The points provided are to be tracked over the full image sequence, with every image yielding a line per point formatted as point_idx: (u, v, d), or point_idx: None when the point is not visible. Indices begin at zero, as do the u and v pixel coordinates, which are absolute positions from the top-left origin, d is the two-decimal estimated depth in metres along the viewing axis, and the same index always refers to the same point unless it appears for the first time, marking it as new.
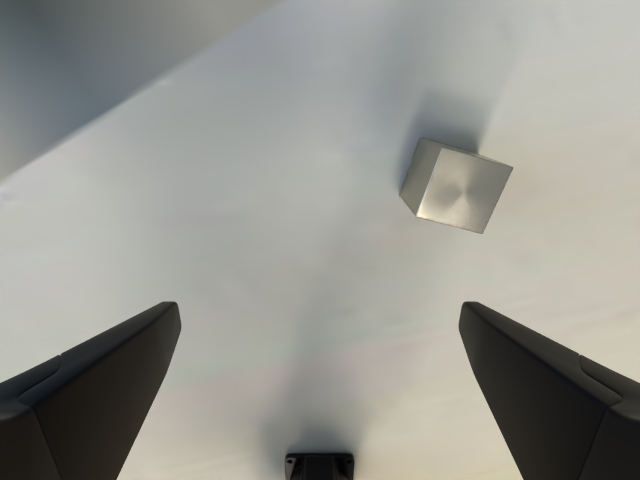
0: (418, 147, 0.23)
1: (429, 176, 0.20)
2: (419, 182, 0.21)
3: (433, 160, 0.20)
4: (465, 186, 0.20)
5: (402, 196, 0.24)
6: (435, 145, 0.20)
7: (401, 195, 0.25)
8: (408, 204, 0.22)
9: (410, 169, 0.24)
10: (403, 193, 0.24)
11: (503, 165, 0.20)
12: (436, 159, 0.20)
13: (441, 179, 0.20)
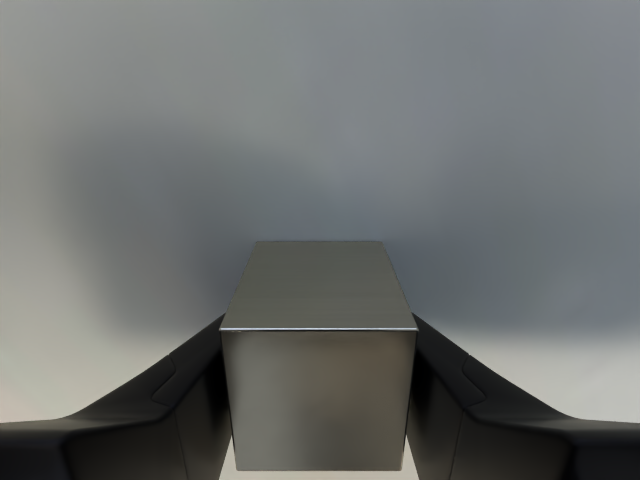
0: (364, 246, 0.11)
1: (333, 321, 0.07)
2: (304, 291, 0.09)
3: (374, 312, 0.08)
4: (334, 406, 0.08)
5: (257, 252, 0.11)
6: (403, 298, 0.08)
7: (258, 246, 0.11)
8: (244, 281, 0.09)
9: (317, 247, 0.11)
10: (264, 250, 0.11)
11: (401, 454, 0.09)
12: (383, 326, 0.07)
13: (337, 353, 0.07)
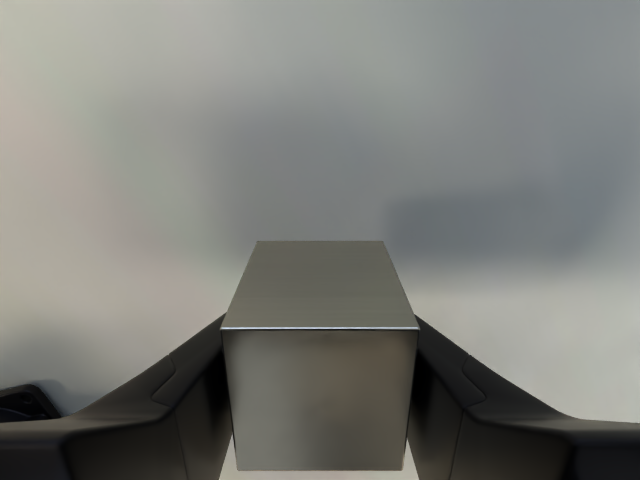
0: (365, 246, 0.11)
1: (335, 320, 0.07)
2: (305, 290, 0.09)
3: (375, 311, 0.08)
4: (336, 406, 0.08)
5: (257, 251, 0.11)
6: (404, 298, 0.08)
7: (259, 246, 0.11)
8: (245, 280, 0.09)
9: (318, 246, 0.11)
10: (264, 250, 0.11)
11: (403, 454, 0.09)
12: (385, 325, 0.07)
13: (338, 353, 0.07)
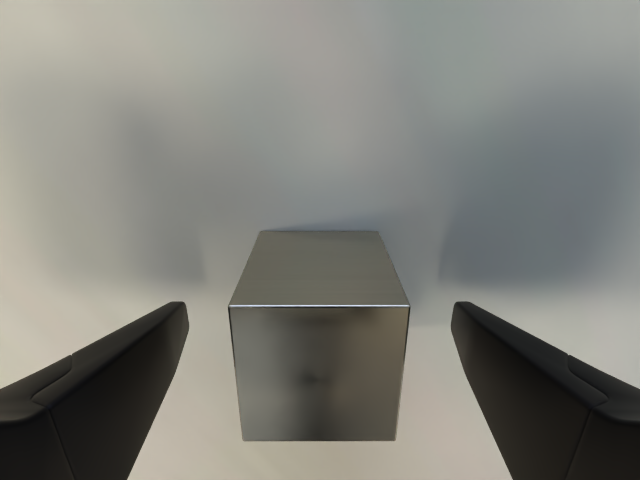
0: (361, 236, 0.12)
1: (332, 299, 0.08)
2: (305, 274, 0.09)
3: (370, 292, 0.08)
4: (334, 378, 0.09)
5: (261, 240, 0.11)
6: (397, 280, 0.09)
7: (262, 236, 0.12)
8: (250, 265, 0.10)
9: (317, 236, 0.12)
10: (267, 239, 0.12)
11: (395, 425, 0.09)
12: (378, 303, 0.08)
13: (335, 329, 0.08)
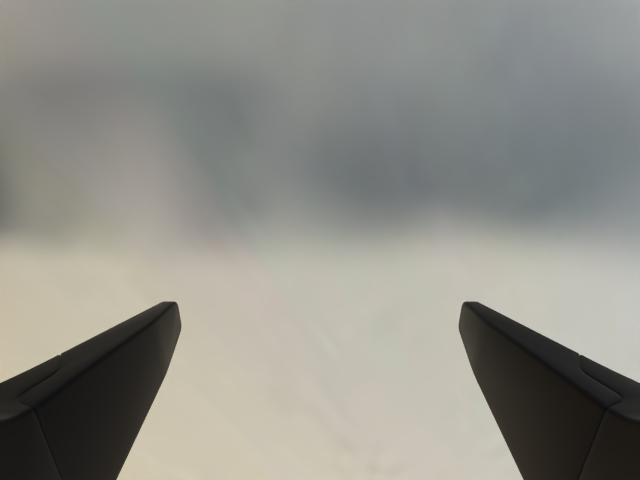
0: None
1: None
2: None
3: None
4: None
5: None
6: None
7: None
8: None
9: None
10: None
11: None
12: None
13: None
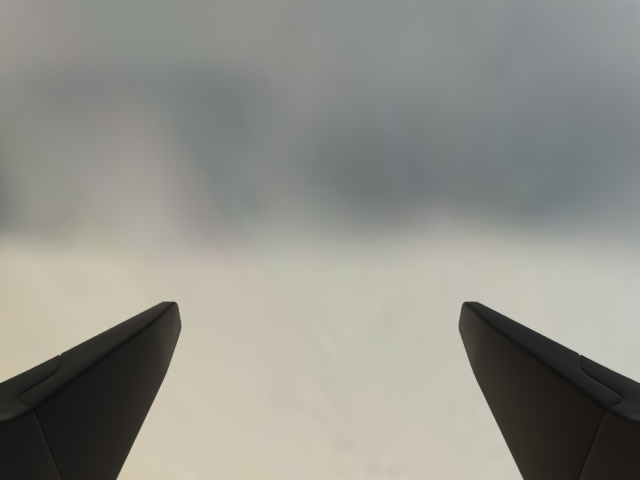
0: None
1: None
2: None
3: None
4: None
5: None
6: None
7: None
8: None
9: None
10: None
11: None
12: None
13: None
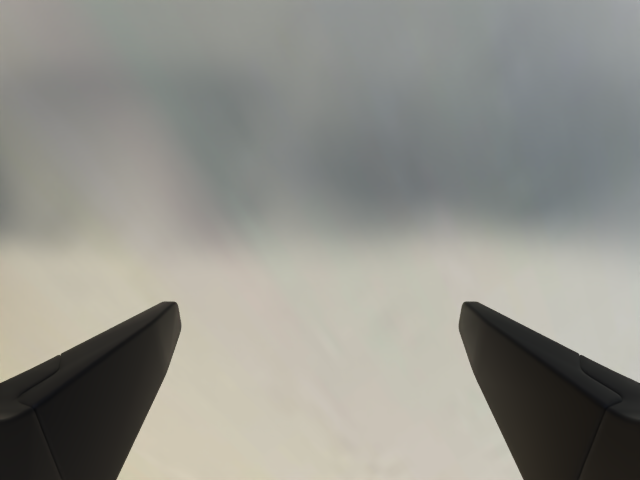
0: None
1: None
2: None
3: None
4: None
5: None
6: None
7: None
8: None
9: None
10: None
11: None
12: None
13: None
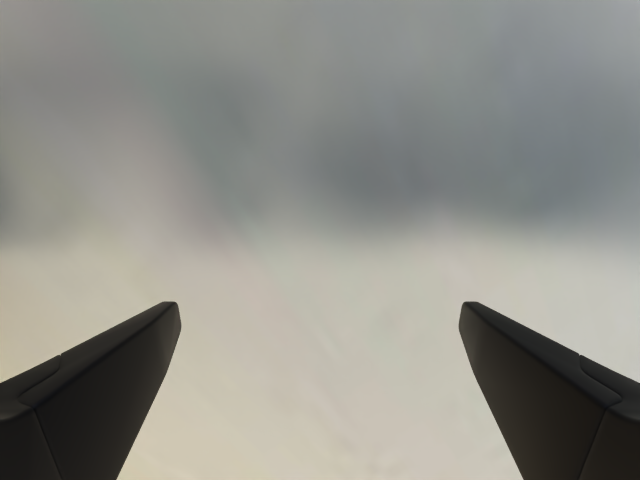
0: None
1: None
2: None
3: None
4: None
5: None
6: None
7: None
8: None
9: None
10: None
11: None
12: None
13: None
